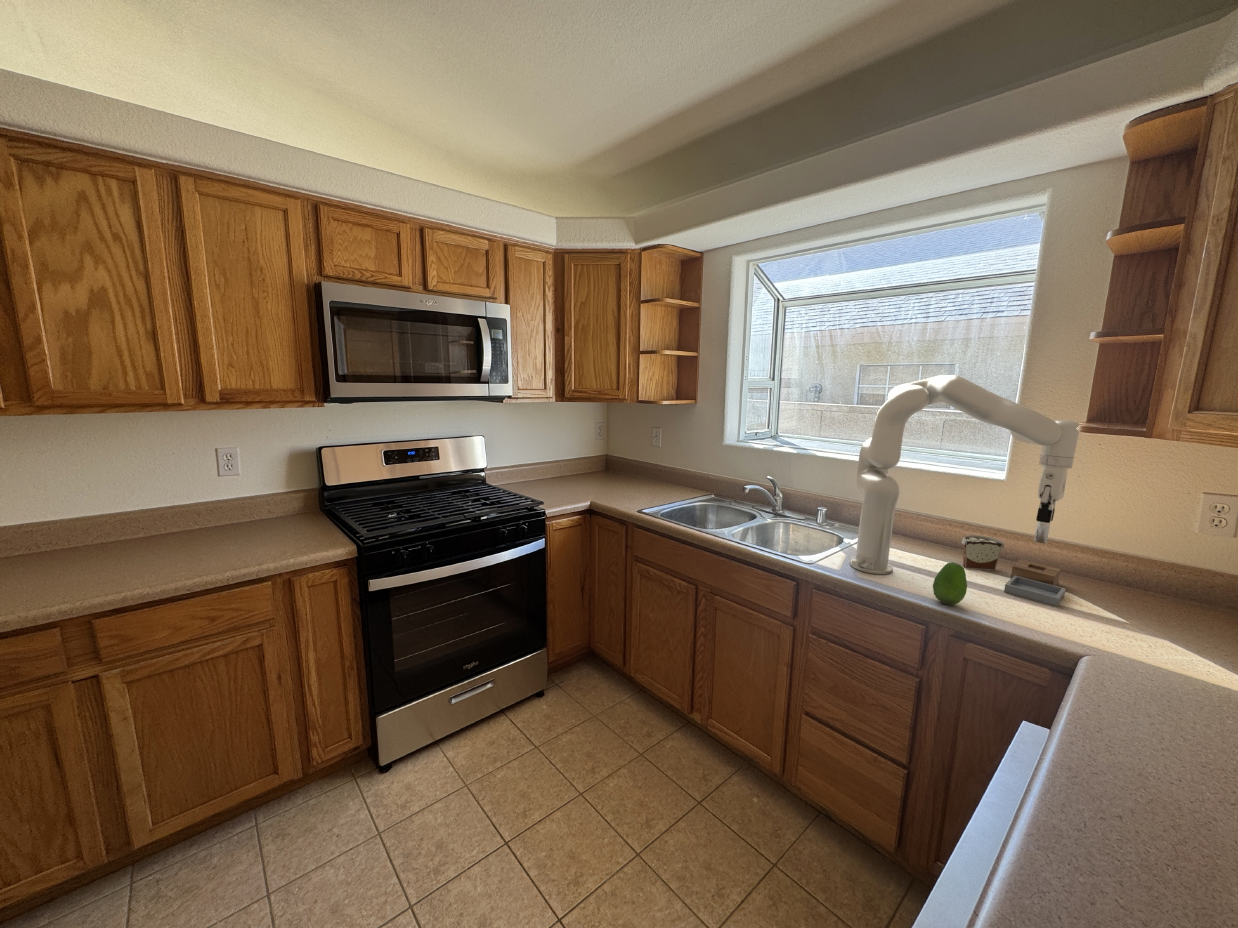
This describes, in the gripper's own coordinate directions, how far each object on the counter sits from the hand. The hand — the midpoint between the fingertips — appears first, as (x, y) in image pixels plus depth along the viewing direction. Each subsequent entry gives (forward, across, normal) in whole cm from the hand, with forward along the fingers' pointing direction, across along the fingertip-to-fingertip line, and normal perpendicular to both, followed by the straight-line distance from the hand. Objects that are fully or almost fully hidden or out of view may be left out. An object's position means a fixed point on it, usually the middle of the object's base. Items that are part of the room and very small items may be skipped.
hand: (1044, 520), depth 151 cm
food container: (+20, +2, +16) cm, 26 cm away
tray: (+20, -11, -2) cm, 23 cm away
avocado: (+21, -39, +12) cm, 46 cm away
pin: (+7, 0, 0) cm, 7 cm away
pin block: (+20, 0, 0) cm, 20 cm away
